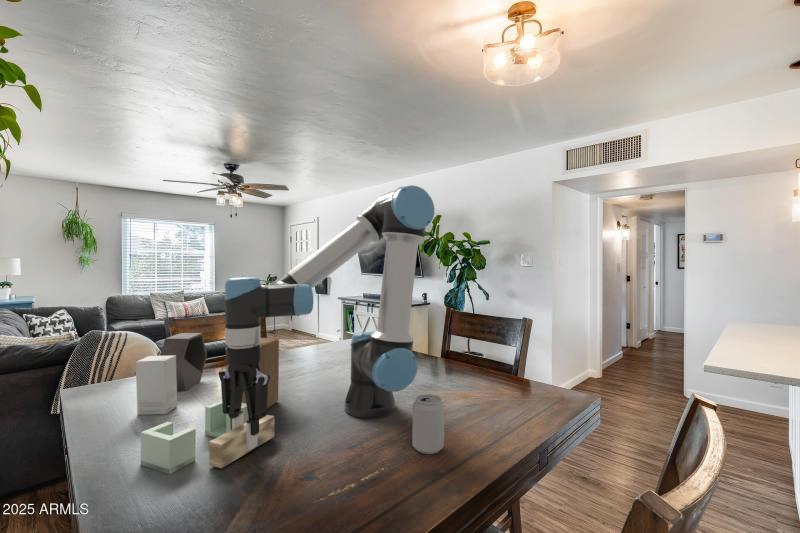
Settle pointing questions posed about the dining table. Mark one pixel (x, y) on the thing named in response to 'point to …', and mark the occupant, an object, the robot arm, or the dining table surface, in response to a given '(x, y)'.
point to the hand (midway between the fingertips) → (245, 446)
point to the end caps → (181, 440)
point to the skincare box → (156, 385)
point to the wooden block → (269, 368)
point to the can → (428, 424)
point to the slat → (237, 442)
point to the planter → (186, 357)
